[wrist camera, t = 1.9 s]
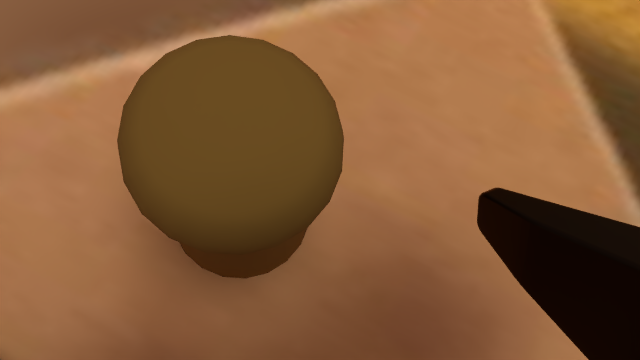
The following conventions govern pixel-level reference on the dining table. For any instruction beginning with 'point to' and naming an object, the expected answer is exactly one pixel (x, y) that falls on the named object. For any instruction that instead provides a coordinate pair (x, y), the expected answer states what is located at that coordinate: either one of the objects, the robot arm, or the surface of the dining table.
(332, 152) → the pepper shaker
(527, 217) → the robot arm
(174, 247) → the dining table surface
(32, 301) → the dining table surface
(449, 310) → the dining table surface
